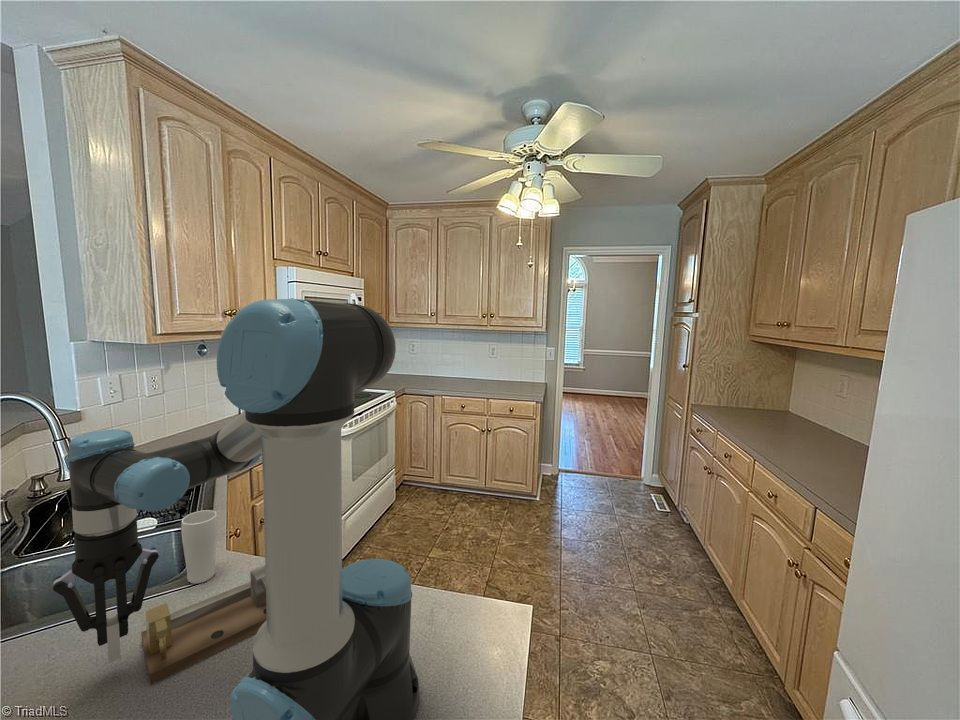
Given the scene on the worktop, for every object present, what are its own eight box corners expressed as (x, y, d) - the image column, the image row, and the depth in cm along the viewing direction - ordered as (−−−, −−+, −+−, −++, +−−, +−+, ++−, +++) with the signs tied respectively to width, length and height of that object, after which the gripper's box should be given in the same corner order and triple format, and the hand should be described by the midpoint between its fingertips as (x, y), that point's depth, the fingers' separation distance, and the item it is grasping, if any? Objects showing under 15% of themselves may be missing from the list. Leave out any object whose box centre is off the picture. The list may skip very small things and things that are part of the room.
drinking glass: (177, 589, 88) (175, 525, 86) (191, 570, 95) (188, 511, 93) (212, 585, 90) (210, 522, 88) (223, 566, 96) (221, 508, 95)
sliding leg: (174, 656, 69) (173, 624, 68) (152, 666, 67) (151, 634, 66) (167, 632, 74) (166, 602, 73) (147, 641, 72) (145, 611, 71)
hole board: (297, 612, 83) (297, 576, 82) (150, 685, 66) (148, 640, 65) (277, 584, 91) (277, 551, 90) (141, 641, 74) (139, 602, 73)
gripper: (154, 504, 72) (159, 623, 74) (48, 529, 62) (58, 664, 65) (160, 520, 67) (166, 647, 69) (46, 550, 57) (57, 696, 60)
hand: (114, 655), depth 67 cm, fingers closed
